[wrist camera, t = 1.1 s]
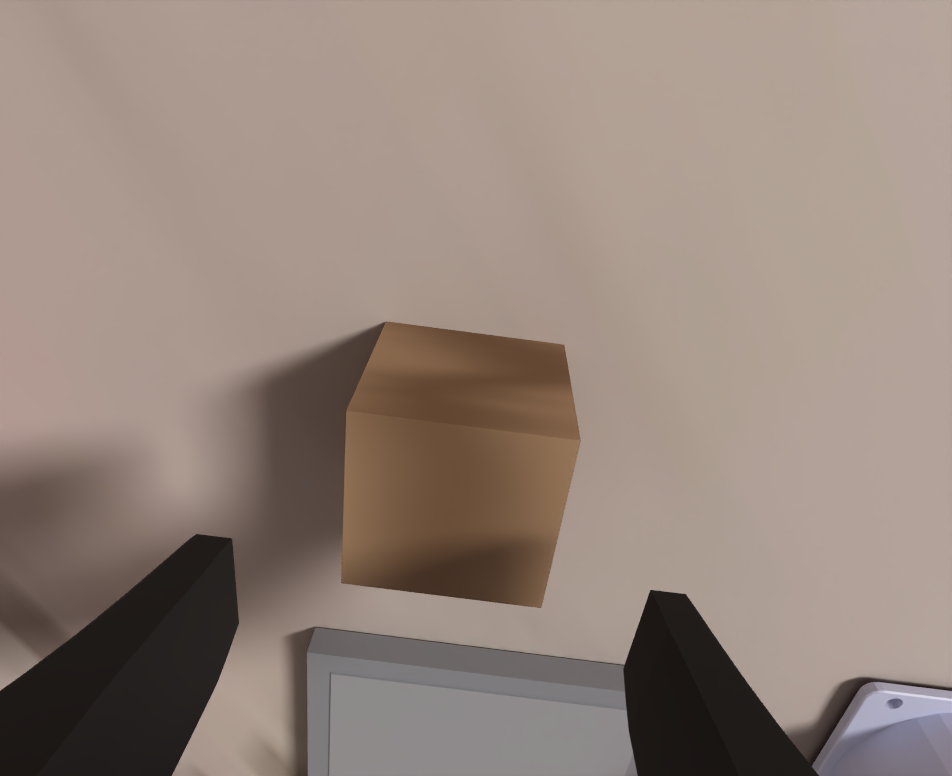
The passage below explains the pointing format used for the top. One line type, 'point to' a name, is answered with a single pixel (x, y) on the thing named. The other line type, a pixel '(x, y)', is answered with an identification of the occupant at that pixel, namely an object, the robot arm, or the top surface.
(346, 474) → the walnut block
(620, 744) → the slate tile
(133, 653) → the robot arm
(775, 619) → the top surface
